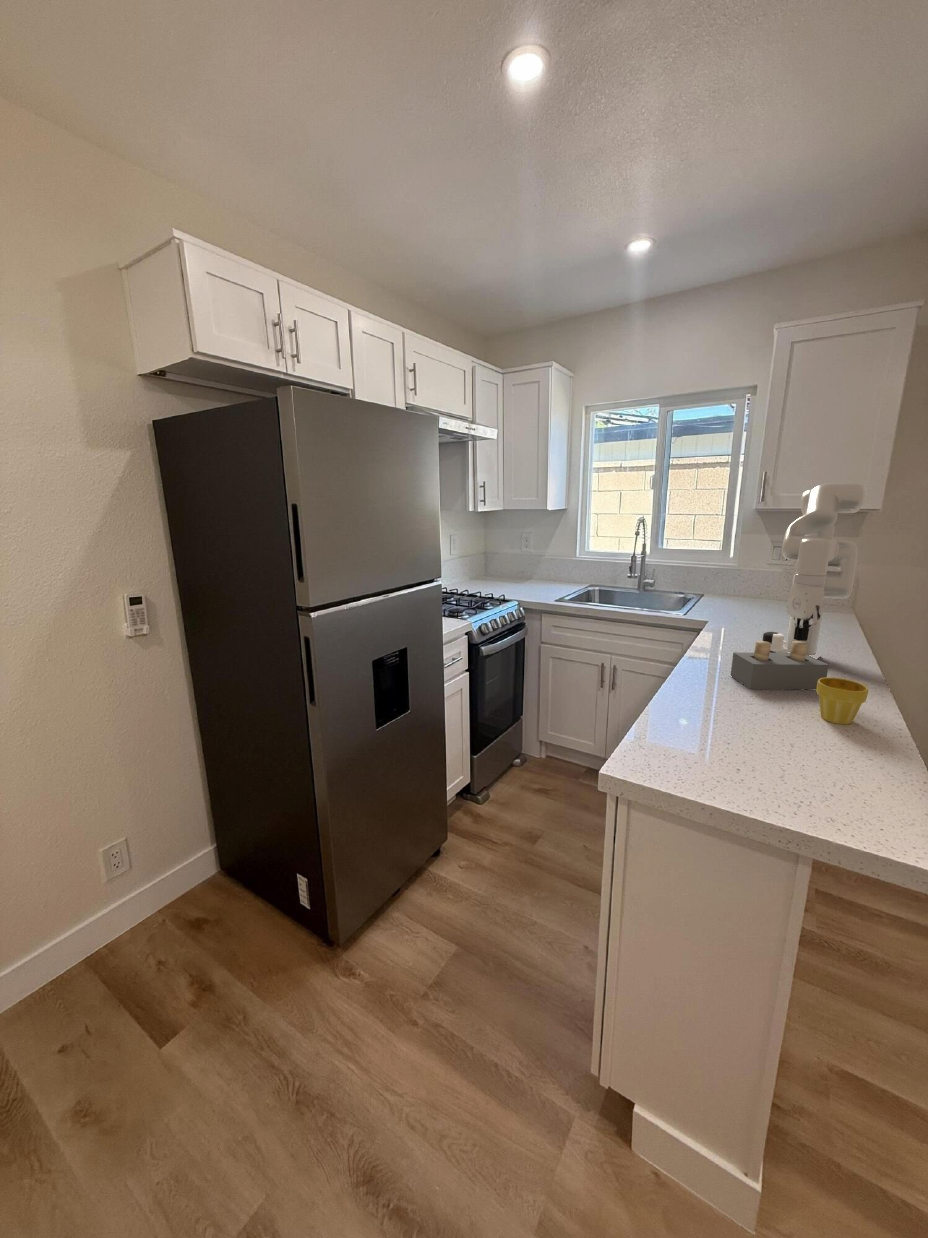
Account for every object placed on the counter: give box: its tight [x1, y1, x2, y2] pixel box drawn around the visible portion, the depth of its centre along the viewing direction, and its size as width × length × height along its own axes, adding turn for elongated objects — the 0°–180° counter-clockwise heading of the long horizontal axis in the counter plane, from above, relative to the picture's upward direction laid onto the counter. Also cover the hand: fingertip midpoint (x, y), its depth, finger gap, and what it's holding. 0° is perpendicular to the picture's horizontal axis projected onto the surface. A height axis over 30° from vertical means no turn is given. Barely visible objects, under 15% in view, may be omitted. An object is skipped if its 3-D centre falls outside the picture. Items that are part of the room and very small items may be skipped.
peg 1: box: [753, 640, 771, 661], centre depth 153 cm, size 4×4×7 cm
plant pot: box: [815, 676, 869, 725], centre depth 127 cm, size 10×10×10 cm
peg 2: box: [790, 641, 808, 661], centre depth 153 cm, size 4×4×7 cm
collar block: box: [730, 651, 830, 690], centre depth 154 cm, size 12×22×8 cm, turn 88°
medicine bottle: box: [761, 631, 789, 653], centre depth 169 cm, size 7×7×12 cm
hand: (800, 639), depth 151 cm, fingers closed
